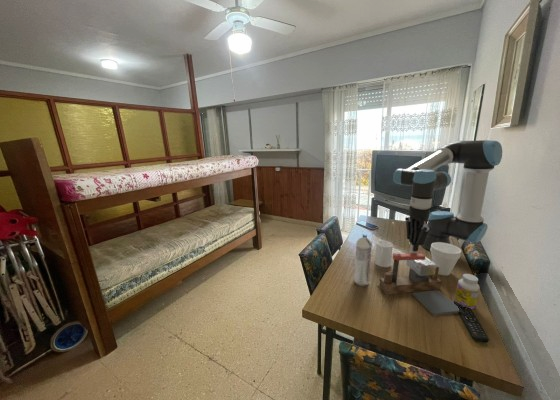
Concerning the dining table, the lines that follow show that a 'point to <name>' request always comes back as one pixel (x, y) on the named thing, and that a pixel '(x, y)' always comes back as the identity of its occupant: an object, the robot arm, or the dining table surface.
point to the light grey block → (422, 266)
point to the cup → (445, 256)
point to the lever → (409, 256)
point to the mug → (383, 253)
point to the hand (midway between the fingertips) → (412, 256)
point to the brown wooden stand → (408, 281)
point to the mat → (436, 302)
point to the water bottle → (362, 261)
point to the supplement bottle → (467, 291)
